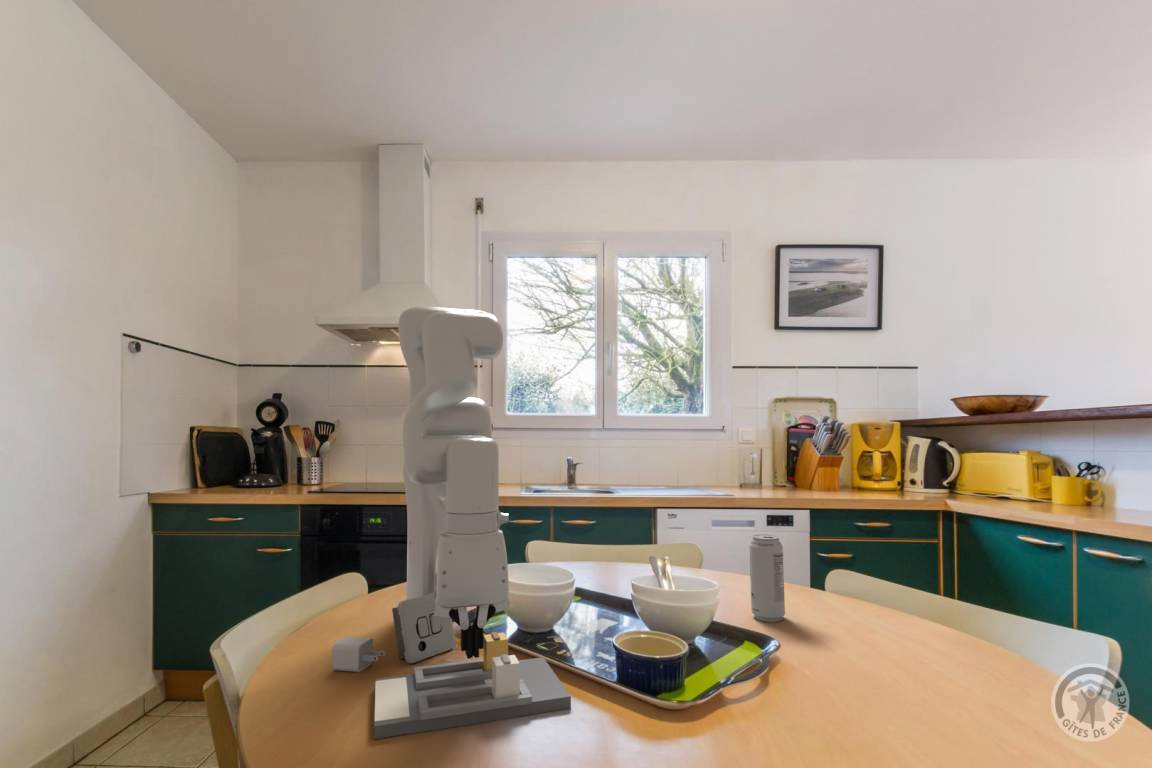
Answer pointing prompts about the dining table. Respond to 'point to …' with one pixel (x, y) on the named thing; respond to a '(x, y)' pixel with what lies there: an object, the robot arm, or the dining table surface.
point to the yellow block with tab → (494, 648)
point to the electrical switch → (421, 629)
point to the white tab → (505, 676)
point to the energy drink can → (767, 578)
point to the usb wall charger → (353, 654)
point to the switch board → (461, 697)
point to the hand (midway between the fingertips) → (471, 654)
